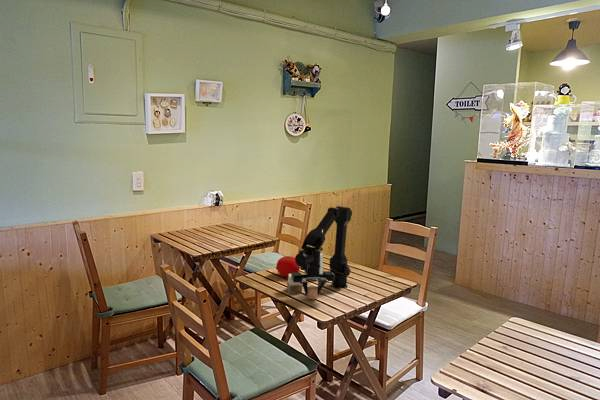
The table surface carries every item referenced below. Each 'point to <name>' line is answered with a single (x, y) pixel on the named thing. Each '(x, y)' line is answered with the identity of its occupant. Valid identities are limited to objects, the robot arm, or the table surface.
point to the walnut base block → (294, 289)
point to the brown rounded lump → (312, 292)
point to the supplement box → (320, 265)
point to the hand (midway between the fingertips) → (312, 294)
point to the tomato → (287, 266)
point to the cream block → (292, 281)
